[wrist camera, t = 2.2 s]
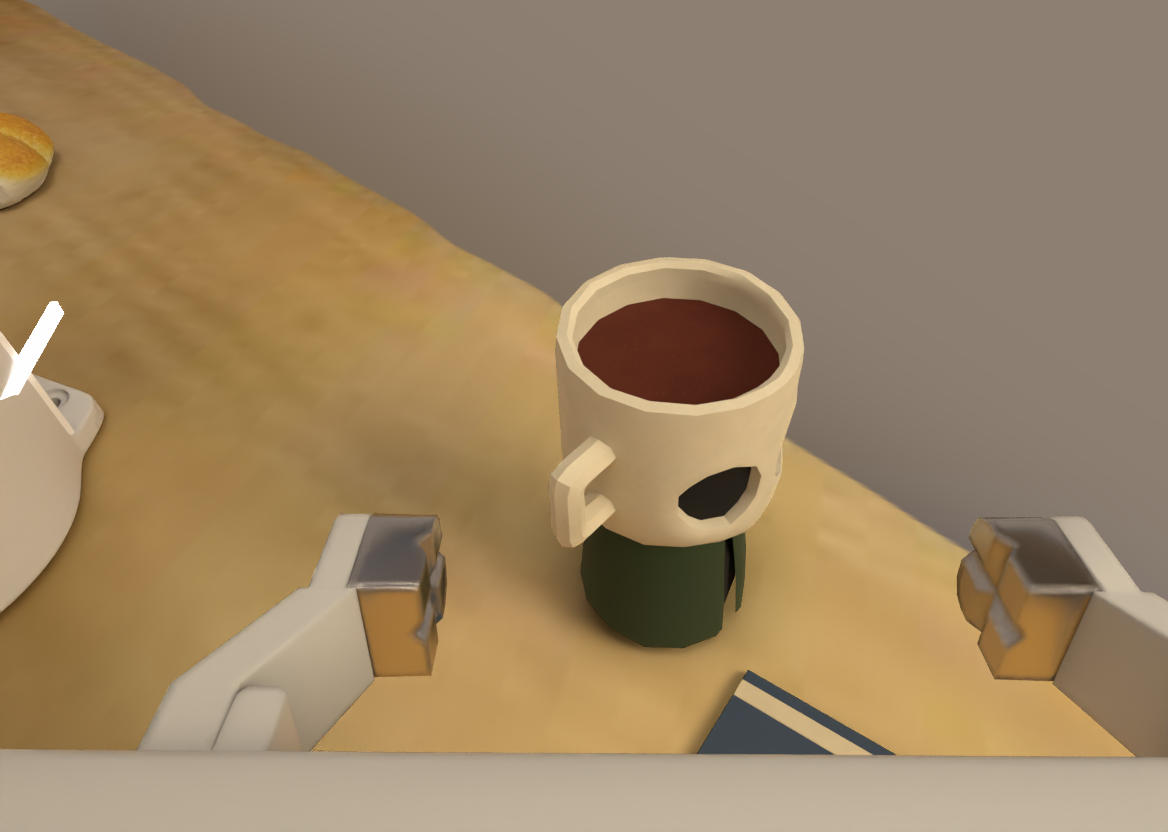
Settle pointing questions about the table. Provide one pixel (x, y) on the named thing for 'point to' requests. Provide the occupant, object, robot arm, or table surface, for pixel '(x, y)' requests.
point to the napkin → (780, 726)
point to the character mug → (670, 437)
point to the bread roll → (22, 158)
